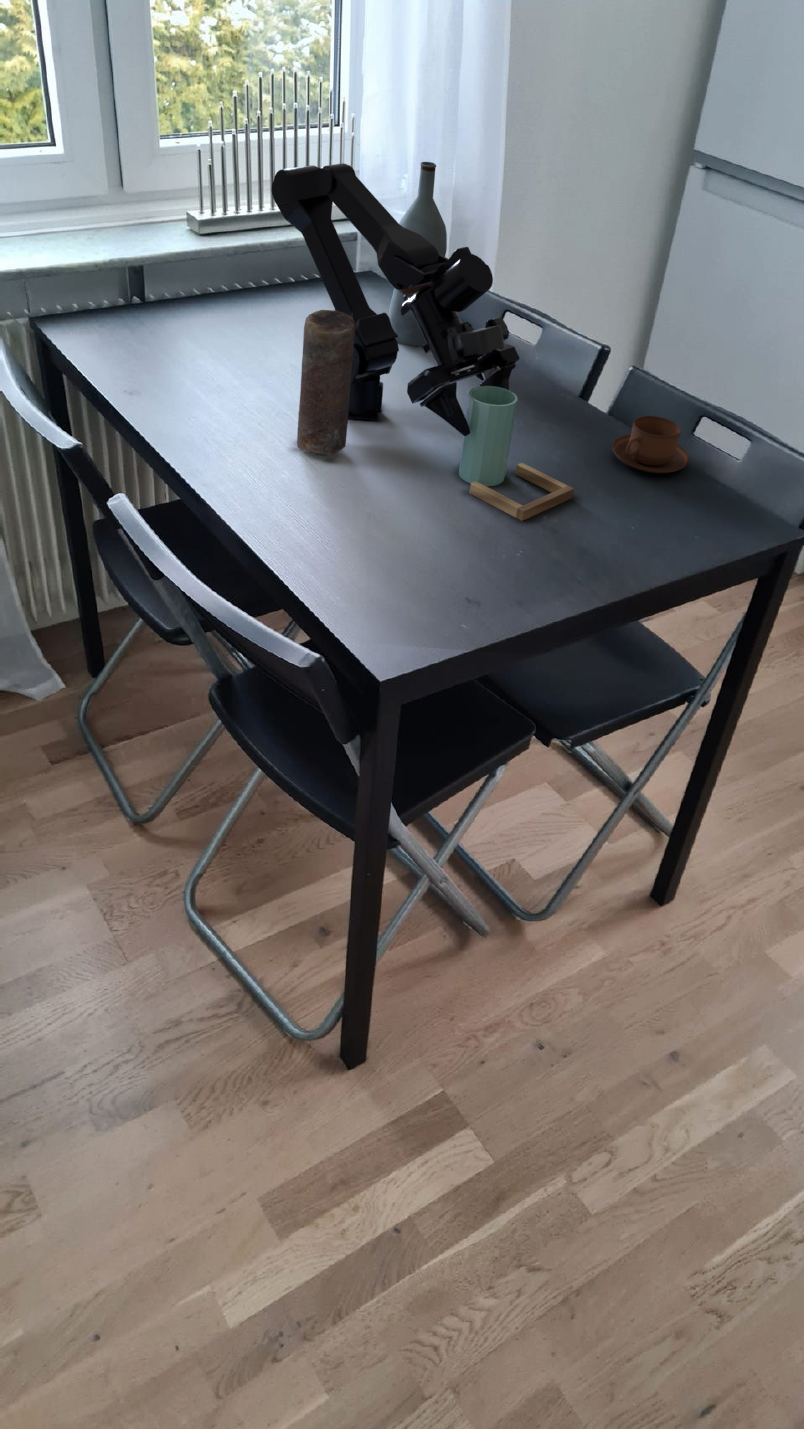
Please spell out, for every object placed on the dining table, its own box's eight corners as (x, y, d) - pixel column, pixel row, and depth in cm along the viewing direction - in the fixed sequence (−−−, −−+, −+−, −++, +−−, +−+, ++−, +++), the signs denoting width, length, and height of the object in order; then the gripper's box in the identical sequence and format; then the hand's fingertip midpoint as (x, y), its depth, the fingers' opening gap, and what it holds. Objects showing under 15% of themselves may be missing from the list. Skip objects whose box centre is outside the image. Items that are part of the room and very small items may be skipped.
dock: (469, 493, 161) (470, 483, 160) (520, 472, 168) (521, 462, 167) (522, 521, 156) (523, 511, 155) (572, 498, 163) (574, 488, 162)
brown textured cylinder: (354, 446, 170) (362, 315, 157) (336, 465, 164) (343, 331, 152) (308, 435, 172) (312, 305, 159) (288, 454, 166) (292, 320, 153)
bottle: (379, 339, 205) (392, 163, 187) (398, 325, 212) (413, 153, 193) (426, 351, 203) (444, 173, 184) (443, 336, 210) (463, 163, 191)
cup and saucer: (670, 488, 168) (679, 450, 164) (598, 463, 173) (606, 426, 169) (697, 461, 177) (707, 425, 173) (628, 438, 181) (636, 402, 177)
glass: (459, 484, 163) (470, 403, 155) (457, 463, 169) (468, 384, 161) (506, 488, 164) (519, 407, 156) (502, 467, 169) (515, 388, 161)
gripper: (429, 312, 148) (480, 419, 149) (519, 288, 159) (566, 388, 160) (384, 351, 157) (432, 452, 158) (472, 326, 168) (516, 420, 169)
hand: (489, 427), depth 161 cm, fingers open, 9 cm apart
